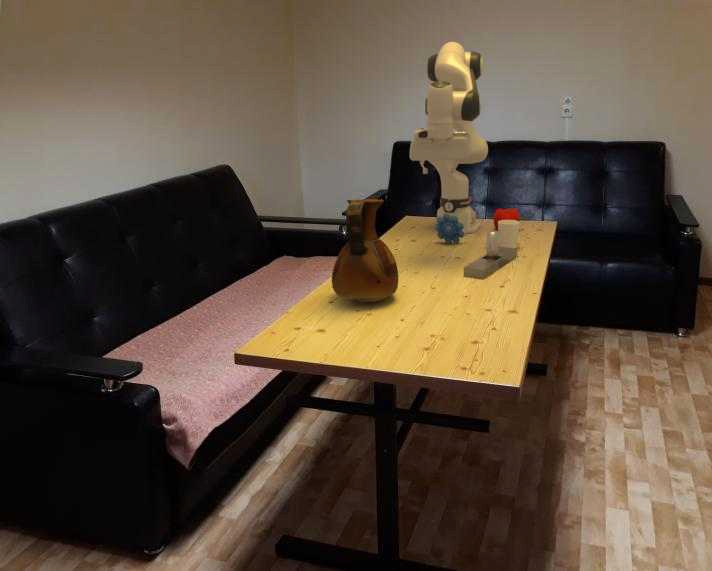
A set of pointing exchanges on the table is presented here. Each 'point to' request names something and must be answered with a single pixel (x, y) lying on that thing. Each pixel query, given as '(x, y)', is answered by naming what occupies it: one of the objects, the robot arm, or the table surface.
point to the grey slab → (489, 263)
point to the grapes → (449, 228)
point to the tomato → (505, 215)
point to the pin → (492, 245)
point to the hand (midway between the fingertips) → (439, 173)
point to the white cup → (508, 233)
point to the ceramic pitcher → (364, 257)
